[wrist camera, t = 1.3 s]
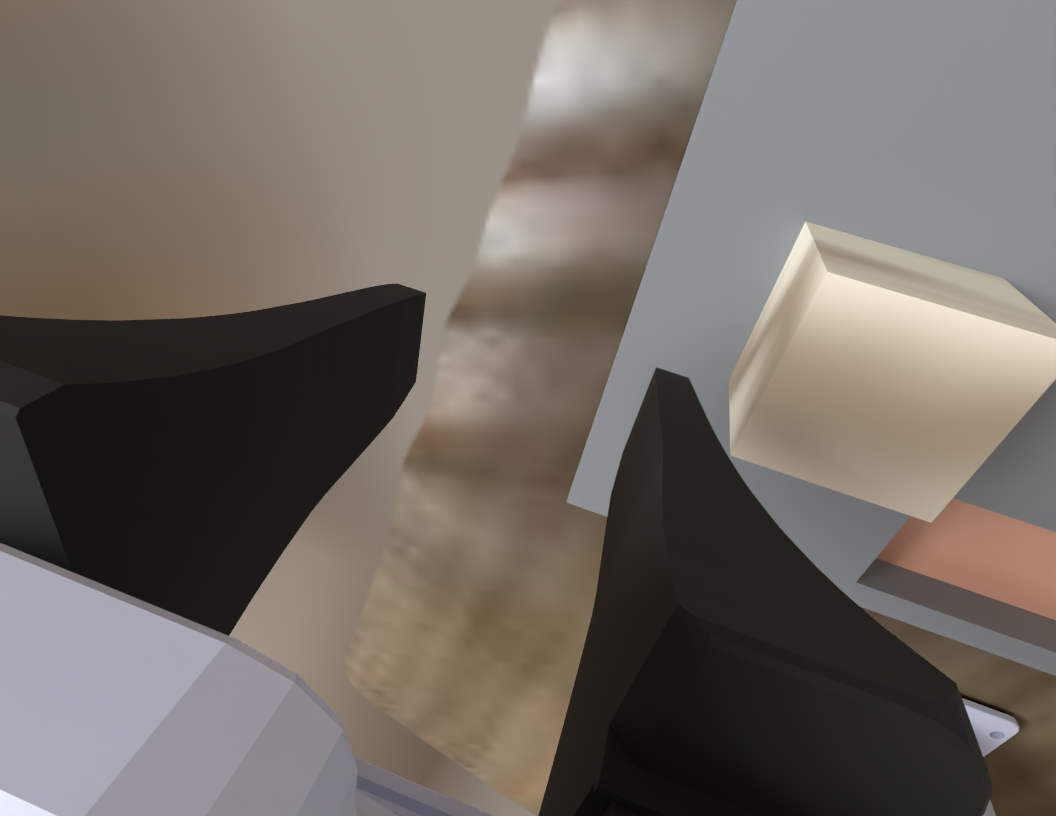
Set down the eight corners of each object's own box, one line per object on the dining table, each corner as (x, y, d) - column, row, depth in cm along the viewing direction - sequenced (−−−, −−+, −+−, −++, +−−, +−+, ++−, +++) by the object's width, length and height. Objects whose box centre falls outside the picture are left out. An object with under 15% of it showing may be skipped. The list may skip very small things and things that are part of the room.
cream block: (892, 432, 18) (931, 522, 14) (728, 380, 18) (730, 455, 15) (1003, 278, 15) (1082, 346, 12) (805, 221, 15) (827, 271, 12)
